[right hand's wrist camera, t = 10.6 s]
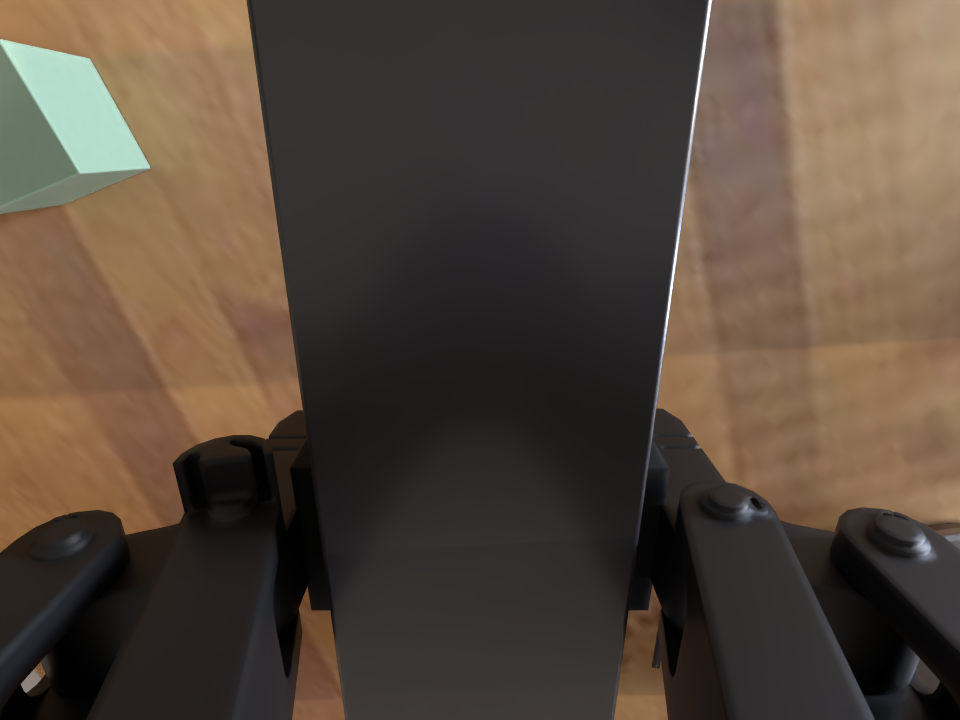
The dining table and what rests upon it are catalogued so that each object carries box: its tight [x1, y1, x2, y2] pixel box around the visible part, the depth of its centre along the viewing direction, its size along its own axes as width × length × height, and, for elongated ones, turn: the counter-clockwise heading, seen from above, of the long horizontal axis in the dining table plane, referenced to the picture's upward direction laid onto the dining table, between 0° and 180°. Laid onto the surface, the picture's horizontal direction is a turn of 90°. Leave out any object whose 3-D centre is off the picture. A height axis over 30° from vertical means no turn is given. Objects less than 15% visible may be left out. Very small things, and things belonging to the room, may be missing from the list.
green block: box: [0, 39, 150, 214], centre depth 23 cm, size 5×5×5 cm
